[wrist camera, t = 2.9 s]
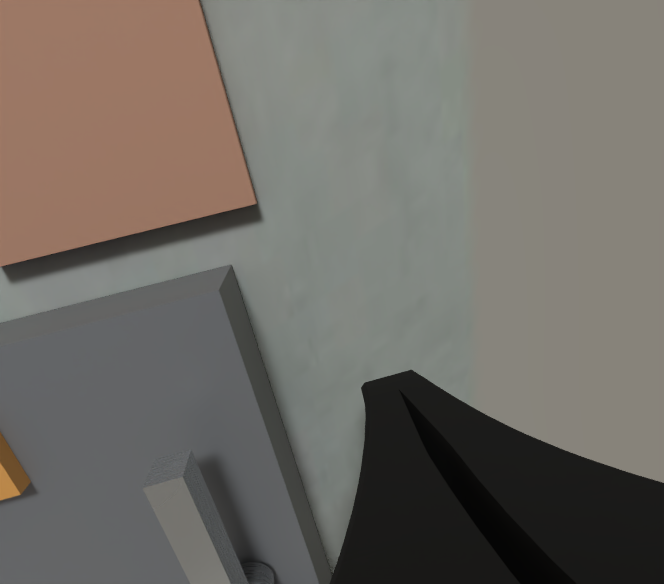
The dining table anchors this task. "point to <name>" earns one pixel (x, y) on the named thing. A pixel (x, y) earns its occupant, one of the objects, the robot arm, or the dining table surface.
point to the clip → (196, 524)
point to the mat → (110, 123)
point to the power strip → (143, 437)
